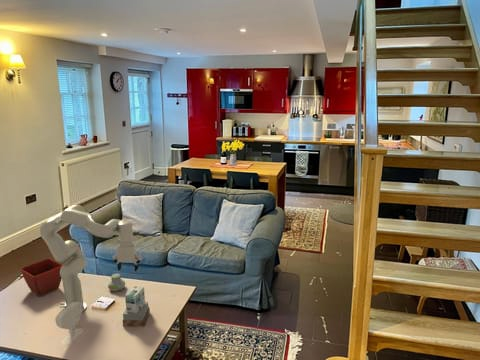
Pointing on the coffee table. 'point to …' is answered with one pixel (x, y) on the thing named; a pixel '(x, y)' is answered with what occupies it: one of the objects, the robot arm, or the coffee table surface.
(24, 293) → the coffee table surface
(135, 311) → the light bulb box
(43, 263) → the plant pot
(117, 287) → the air freshener
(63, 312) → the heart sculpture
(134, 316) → the tower top block
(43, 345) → the coffee table surface
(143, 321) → the tower base block
